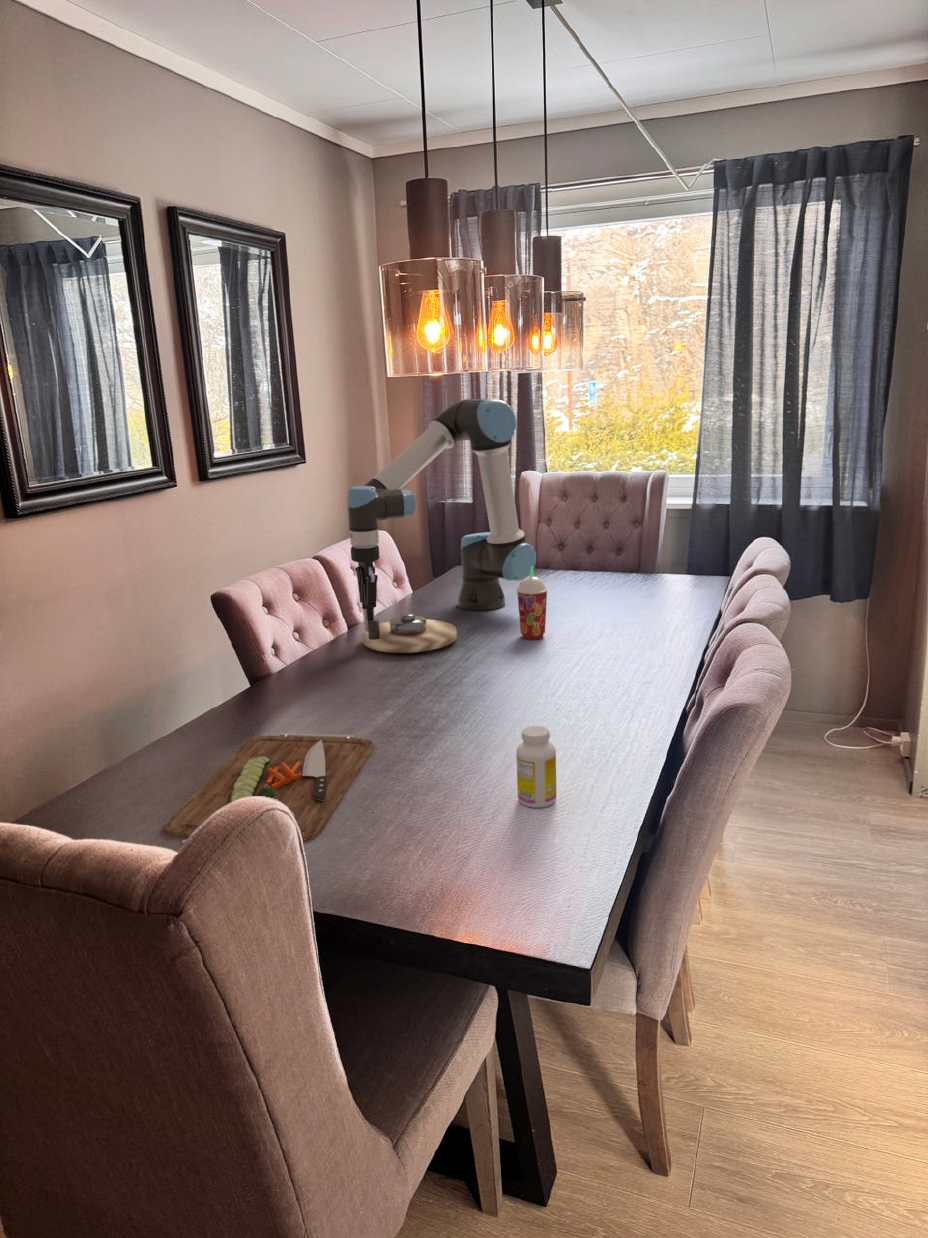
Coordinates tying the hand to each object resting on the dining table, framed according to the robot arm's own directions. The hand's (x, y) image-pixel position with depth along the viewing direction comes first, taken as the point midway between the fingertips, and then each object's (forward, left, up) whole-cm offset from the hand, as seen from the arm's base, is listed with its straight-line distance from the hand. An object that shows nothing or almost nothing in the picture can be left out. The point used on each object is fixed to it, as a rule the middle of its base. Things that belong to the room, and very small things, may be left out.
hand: (369, 630), depth 242 cm
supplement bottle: (+1, +101, -5) cm, 101 cm away
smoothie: (-43, +13, -5) cm, 45 cm away
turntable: (-11, +1, -4) cm, 12 cm away
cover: (-11, 0, -2) cm, 11 cm away
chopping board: (+40, +74, -6) cm, 84 cm away
